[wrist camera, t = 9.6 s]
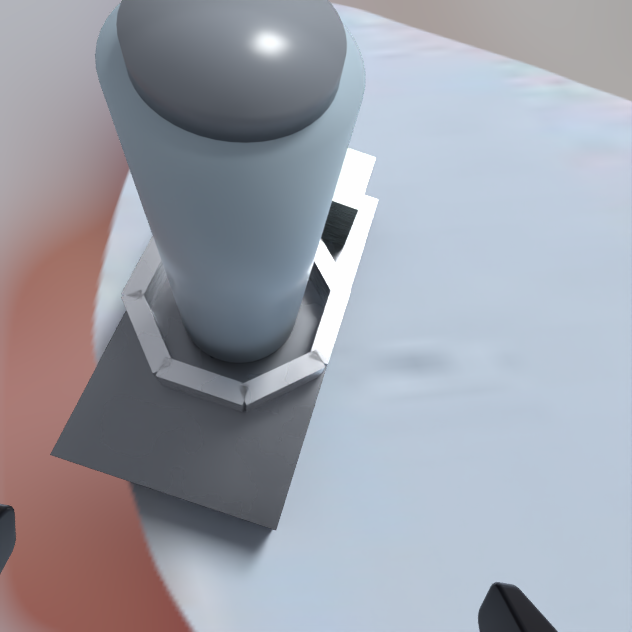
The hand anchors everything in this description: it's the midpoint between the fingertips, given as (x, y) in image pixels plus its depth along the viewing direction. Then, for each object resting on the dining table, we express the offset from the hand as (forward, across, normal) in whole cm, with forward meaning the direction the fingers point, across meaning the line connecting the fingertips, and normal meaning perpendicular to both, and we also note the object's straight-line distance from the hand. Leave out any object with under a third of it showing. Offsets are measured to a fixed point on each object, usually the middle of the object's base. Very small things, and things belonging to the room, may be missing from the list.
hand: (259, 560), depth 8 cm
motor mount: (+14, +2, +1) cm, 14 cm away
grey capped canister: (+12, +2, 0) cm, 13 cm away
